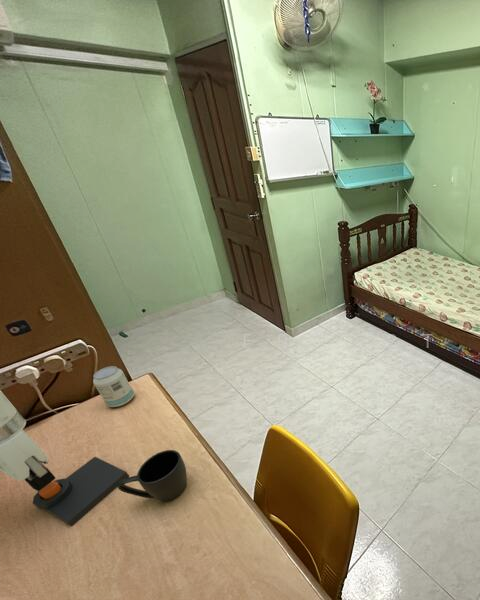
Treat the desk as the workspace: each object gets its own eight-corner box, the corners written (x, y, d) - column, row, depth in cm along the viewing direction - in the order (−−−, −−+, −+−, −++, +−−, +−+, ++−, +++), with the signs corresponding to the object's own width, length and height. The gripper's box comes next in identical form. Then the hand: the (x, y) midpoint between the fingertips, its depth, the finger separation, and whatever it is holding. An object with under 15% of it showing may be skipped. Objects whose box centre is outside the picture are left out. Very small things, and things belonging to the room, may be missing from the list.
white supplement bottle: (136, 389, 104) (121, 361, 98) (134, 403, 98) (118, 375, 93) (110, 397, 100) (93, 369, 95) (106, 412, 95) (87, 383, 89)
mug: (137, 488, 76) (121, 464, 71) (194, 468, 80) (182, 444, 76) (128, 522, 69) (110, 497, 65) (191, 498, 74) (177, 474, 69)
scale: (35, 507, 71) (26, 499, 70) (97, 460, 82) (90, 451, 80) (69, 528, 68) (61, 520, 66) (129, 476, 78) (123, 467, 76)
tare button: (39, 496, 71) (35, 491, 70) (56, 483, 73) (52, 479, 72) (47, 501, 70) (43, 496, 69) (64, 488, 72) (60, 483, 71)
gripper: (-55, 432, 60) (3, 488, 69) (-12, 457, 56) (43, 512, 65) (-1, 404, 66) (46, 458, 75) (41, 424, 62) (86, 479, 71)
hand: (45, 483), depth 70 cm, fingers closed
